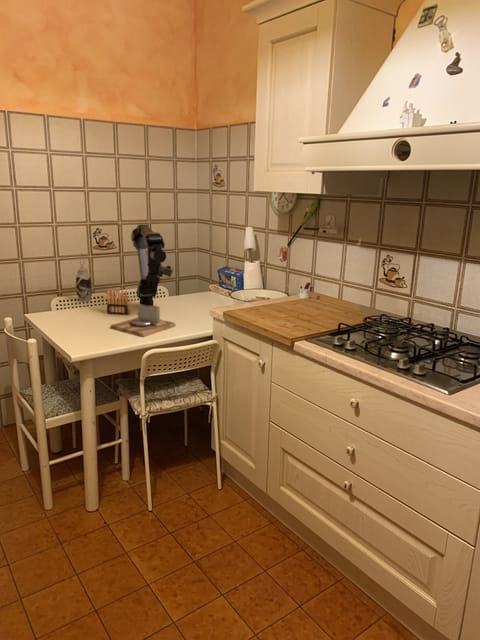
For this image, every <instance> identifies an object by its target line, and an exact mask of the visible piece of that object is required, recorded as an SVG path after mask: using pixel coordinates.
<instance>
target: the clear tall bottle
mask: <svg viewBox="0 0 480 640" xmlns="http://www.w3.org/2000/svg"><path fill="white" fill-rule="evenodd" d="M81 255H82V256H81ZM81 257H82V258H83V259H85V258H84V257H85V256H84V255H83V253H80V255H79V258H81ZM79 264H80V268H79V269H77V275H75V276H76V278H75V290H76V291H75V292H76V295H77V298H78V297H79V301H78V302H90V301H91V300H92V296H93V295H92V293H93V291H92V281H91V280H92V275H91V274H89V272H88V271H89V269H87V268H86V267H85V266H84V264H85V261H83V264H82V263H81V261H79Z"/></svg>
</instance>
